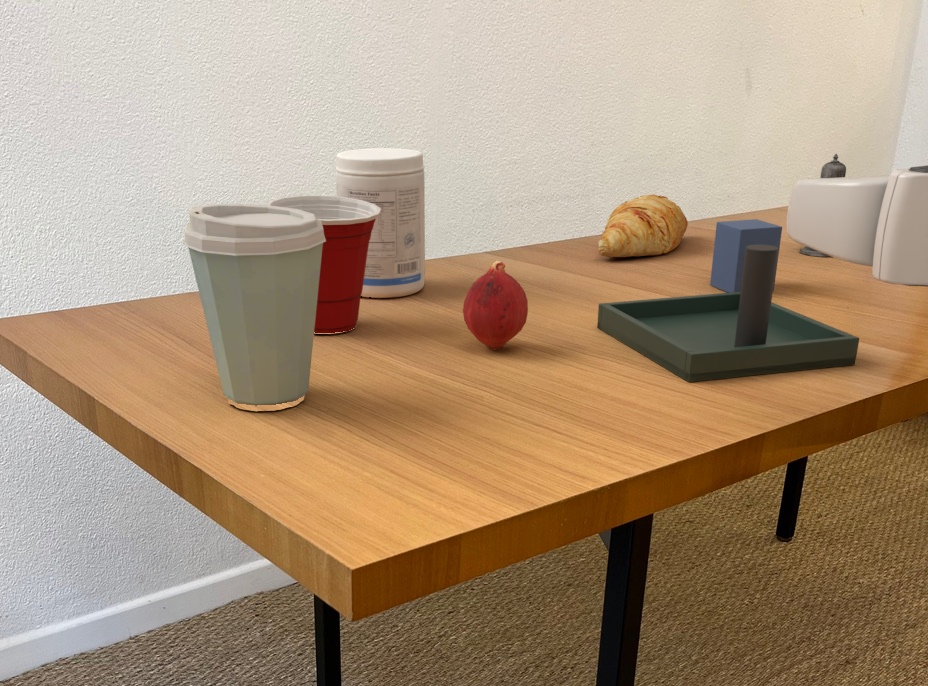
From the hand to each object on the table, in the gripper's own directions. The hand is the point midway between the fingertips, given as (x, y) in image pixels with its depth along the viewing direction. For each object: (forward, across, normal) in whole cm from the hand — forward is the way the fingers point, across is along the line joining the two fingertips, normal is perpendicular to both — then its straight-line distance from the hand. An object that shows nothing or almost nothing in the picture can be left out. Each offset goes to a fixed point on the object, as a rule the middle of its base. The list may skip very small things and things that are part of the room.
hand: (867, 190), depth 75 cm
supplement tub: (+48, +24, +16) cm, 56 cm away
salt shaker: (+50, -34, +16) cm, 63 cm away
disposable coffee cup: (+14, +42, +16) cm, 47 cm away
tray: (+17, 0, +16) cm, 23 cm away
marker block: (+36, -14, +16) cm, 42 cm away
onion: (+22, +20, +16) cm, 34 cm away
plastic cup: (+34, +33, +16) cm, 50 cm away
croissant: (+60, -14, +16) cm, 63 cm away
